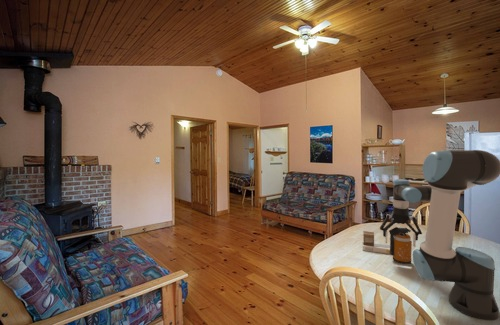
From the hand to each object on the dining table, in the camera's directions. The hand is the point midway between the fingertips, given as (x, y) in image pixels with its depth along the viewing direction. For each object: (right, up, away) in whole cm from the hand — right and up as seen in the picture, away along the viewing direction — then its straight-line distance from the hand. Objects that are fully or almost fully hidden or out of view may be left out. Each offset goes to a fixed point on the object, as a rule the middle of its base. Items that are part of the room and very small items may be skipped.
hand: (399, 243), depth 139 cm
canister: (0, -11, 0) cm, 11 cm away
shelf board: (-1, -9, +16) cm, 18 cm away
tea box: (-8, -8, +19) cm, 23 cm away
